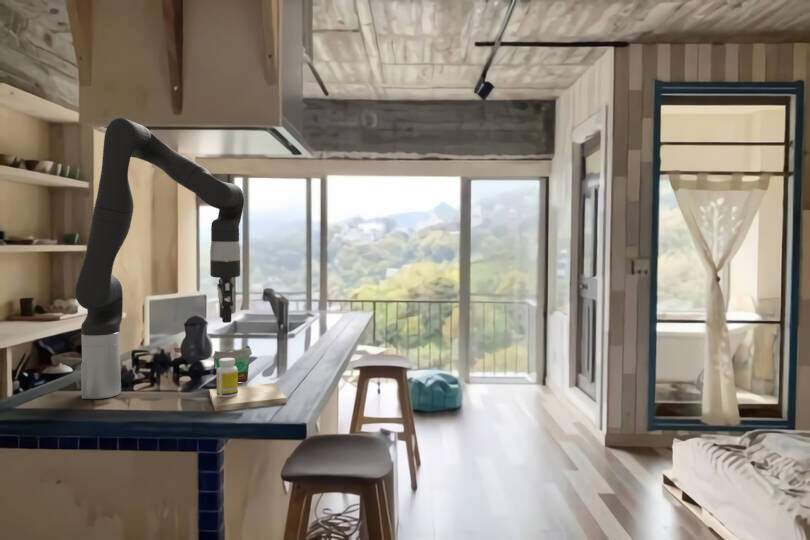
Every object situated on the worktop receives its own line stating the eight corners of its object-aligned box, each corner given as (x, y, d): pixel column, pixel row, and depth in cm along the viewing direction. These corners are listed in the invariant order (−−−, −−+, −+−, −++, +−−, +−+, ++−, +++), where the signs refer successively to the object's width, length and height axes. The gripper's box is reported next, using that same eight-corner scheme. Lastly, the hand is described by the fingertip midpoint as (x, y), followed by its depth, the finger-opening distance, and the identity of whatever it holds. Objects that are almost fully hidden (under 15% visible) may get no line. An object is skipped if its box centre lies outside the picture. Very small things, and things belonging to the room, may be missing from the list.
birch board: (215, 411, 140) (215, 405, 140) (209, 394, 155) (209, 389, 155) (286, 403, 148) (286, 397, 148) (274, 388, 162) (274, 383, 162)
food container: (226, 388, 162) (225, 354, 161) (213, 384, 166) (213, 351, 165) (260, 379, 172) (260, 347, 171) (247, 376, 175) (247, 345, 175)
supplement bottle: (242, 394, 151) (241, 358, 150) (227, 399, 146) (227, 362, 145) (226, 391, 153) (226, 356, 152) (212, 396, 148) (211, 360, 148)
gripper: (209, 257, 152) (209, 316, 153) (211, 260, 139) (212, 324, 140) (237, 257, 155) (237, 315, 156) (242, 260, 142) (243, 323, 143)
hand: (225, 320), depth 148 cm, fingers open, 8 cm apart
